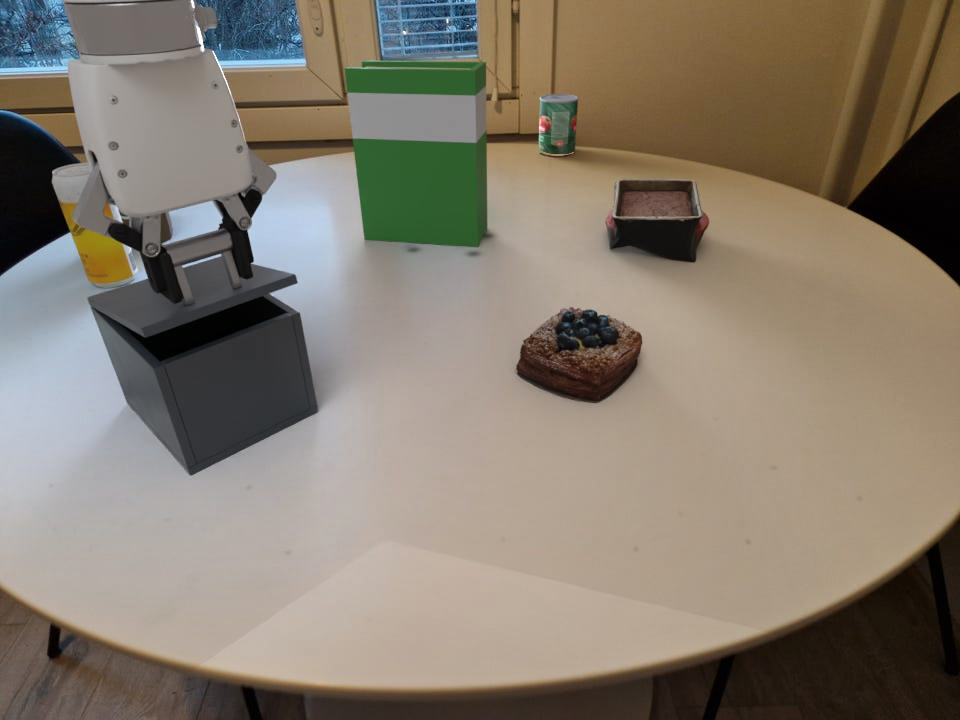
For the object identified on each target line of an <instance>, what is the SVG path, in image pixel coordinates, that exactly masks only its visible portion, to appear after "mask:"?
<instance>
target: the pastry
mask: <svg viewBox="0 0 960 720" xmlns="http://www.w3.org/2000/svg"><path fill="white" fill-rule="evenodd" d="M522 342H523V344H521V347H520V351H519V359H518V362H517V364H516V367H515V371H516V374H517V376H518V377H520V378H521V379H523V380H525V381H526V382H528V383H530V384H532V385H534V386H536V387H537V388H540V389H542V390H545V391H547V392H549V393H552V394H554V395H557V396H560V397H563V398H566V399H570V400H575V401H579V402H588V403H595V404H596V403H599V402H601V401H603V400H605V399H607V398H608V397H610V396H611V395H612V394H613V393H615V391H617V390H618V389H619V388H620V387H621V386H622V385H623V384H624V383H625V382H626V381H627V380H628V379H629V378H630V377H631V375H632V374H633V373H634V371H635V370H636V368H637V366H638V358H639V357H640V354H641V351H642V346H643V336H642V334H641V332H639V331H637V330H635V329H634V328H632V327H631V325H627V324H626V323H625V321H624V320H623V321H622V320H619V319H617V318H616V317H611V316H610V314H607V315H606V314H599V315H598V312H597V311H596V310H594V309H591V308H590V309H581V308H580V307H577V308H575V307H573V306H569V307H568V308H563V307H562V308H560V310H559V312H557V313H556V314H555V315H551V317H549V319H547V320H546V321H545V322H543V323H542V324H541V325H540V326H538V327H537V328H536V329H535V330H534V331H533V332H532V333H530V335H529V336H528V337H526V338H525V339H523V340H522Z"/></svg>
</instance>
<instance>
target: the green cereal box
mask: <svg viewBox="0 0 960 720" xmlns="http://www.w3.org/2000/svg"><path fill="white" fill-rule="evenodd" d="M343 70H344V77H345V85H346V94H347V102H348V109H349V121H350V128H351V136H352V137H351V138H352V145H353V153H354V154H353V155H354V162H355V170H356V179H357V187H358V196H359V205H360V213H361V221H362V222H361V223H362V230H363V231H362V232H363V239H364V240H366V241H378V242H379V241H380V242H393V243H395V242H397V243H409V244H410V243H411V244H424V245H425V244H428V245H442V246H459V247H473V248H477V247H479V246H480V244H481V242H482V240H483V239H484V236H485V234H486V233H487V230H488V159H487V158H488V146H487V145H488V137H487V136H488V135H487V134H488V133H487V131H488V129H487V128H488V127H487V61H451V60H449V61H445V60H444V61H441V60H440V61H439V60H437V61H436V60H375V59H374V60H373V59H372V60H371V59H369V60H368V59H363V60H361V67H356V66H355V67H354V66H353V67H349V66H348V67H344V69H343Z"/></svg>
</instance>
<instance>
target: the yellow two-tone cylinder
mask: <svg viewBox="0 0 960 720" xmlns="http://www.w3.org/2000/svg"><path fill="white" fill-rule="evenodd" d="M51 173H52V177H51V178H52V179H51V185H52V187H53V191H54V192H55V195H56V197H57V200H58V203H59V205H60V208H61V211H62V215H63V217H64V219H65V221H66V224H67V227H68V230H69V232H70V234H71V235H70V236H71V237H72V240H73V243H74V245H75V248H76V251H77V254H78V256H79V260H80V261H81V264H82V267H83V269H84V272H85V275H86V277H87V280H88V281H89V282H90V283H91V284H94V286H96V287H98V288H103V289H110V288H118V287H122V286H125V285H128V284H130V283H131V282H133V281H134V280H135V278H136V276H137V274H138V271H139V268H138V265H137V261H136V259H135V256H134V253H133V249H132V248H130V247H128V246H126V245H124V244H122V243H120V242H118V241H116V240H115V239H112V238H110V237H107V236H104V235H101V234H98V233H96V232H93V231H91V230H88V229H85V228H83V227H81V226H80V225H78V224H77V223H76V222H75V221H74V220H73V218H72V214H73V212H74V210H75V207H76V205H77V203H78V201H79V198H80V196H81V194H82V192H83V190H84V187H85V185H86V183H87V181H88V179H89V176H90V174H91V173H90V169H89V166H88V162H80V163H71V164H67V165H63V166H60V167H56V168H55V169H53V170H52V171H51ZM103 212H104V215H105V216H107V217H109V218H112V219H115V220H118V221H120V222H122V219H121V216H120V213H119V210H118V208H117V206H116V205H111V204H106V206H105V208H104V211H103ZM122 223H123V222H122Z"/></svg>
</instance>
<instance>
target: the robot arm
mask: <svg viewBox="0 0 960 720" xmlns="http://www.w3.org/2000/svg"><path fill="white" fill-rule="evenodd" d="M61 2H62V3H63V9H64V11H65V14H66V17H67V21H68V24H69V27H70V31H71V33H72V36H73V39H74V42H75V46H76V48H77V52H78V55H79V58H77V59H76V58H75V59H71V60H68V61H67V62H66V63H67V74H68V82H69V83H68V84H69V88H70V94H71V100H72V105H73V109H74V114H75V118H76V119H75V120H76V123H77V128H78V132H79V135H80V139H81V143H82V147H83V151H84V154H85V159H86V163H88V166H89V169H90V173H91V174H90V176H89V179H88V181H87V183H86V185H85V187H84V190H83V192H82V194H81V196H80V198H79V201H78V203H77V205H76V207H75V210H74V212H73V214H72V218H73V220H74V221H75V222H76V223H77V224H78V225H80V226H81V227H83V228H85V229H88V230H91V231H93V232H96V233H98V234H101V235H104V236H107V237H110V238H112V239H115V240H116V241H118V242H120V243H122V244H124V245H126V246H128V247H130V248H131V249H132V250H135V251H137V252H138V253H139V255H140V258H141V261H142V264H143V268H144V270H145V273H146V276H147V279H148V280H149V283H150V285H151V287H152V289H153V290H154V292H156V293H157V294H158V293H161V294H162V295H164V296H165V297H166V298H167V299H169V300H170V301H171V302H172V303H174V304H176V303H179V302H182V299H183V295H182V292H181V288H180V285H179V282H178V278H177V275H176V271H175V268H174V265H173V261H172V258H171V256H170V254H169V253H167V252H166V251H164V250H163V248H162V243H161V213H165V212H169V213H170V212H172V211H176V210H180V209H181V210H182V209H185V208H189V207H192V206H198V205H200V204H204V203H205V204H206V203H208V202H212V203H213V205H214V206H215V208H216V209H217V212H218V213H219V215H220V216H221V218H222V219H221V223H218V227H217V230H219V229H223V228H225V229H227V230H228V231H229V233H230V235H231V237H232V239H233V243H234V249H233V250H231V251H232V254H233V257H234V260H235V264H236V267H237V270H238V273H239V276H240V277H241V278H243V279H246V280H247V279H250V278H253V273H252V268H251V264H254V262H255V257H254V254H253V250H252V245H251V240H250V236H249V231H248V230H249V229H250V228H251V227H252V224H253V220H252V219H253V216H254V215H255V214H256V211H257V210H258V208H259V206H260V204H261V203H262V201H263V196H264V195H266V194H267V192H268V191H269V189H270V188H271V186H272V185H273V183H274V182H275V181H276V179H277V171H276V170H275V169H273V168H272V167H271V166H270V165H269V164H268V163H266V162H265V160H263V158H261V157H260V156H258V155H257V154H256V153H255V152H254V151H253V150H252V149H251V148H249V147H248V144H247V142H246V137H245V134H244V130H243V127H242V124H241V120H240V115H239V113H238V110H237V107H236V104H235V101H234V98H233V95H232V93H231V89H230V87H229V85H228V84H229V83H228V81H227V79H226V77H225V75H224V74H225V73H224V72H223V70H222V68H221V65H220V62H219V60H218V58H217V56H216V54H215V52H214V50H213V49H211V48H206V47H204V43H203V42H206V38H205V34H204V33H205V32H207V31H208V30H209V29H217V28H218V24H219V23H218V17H217V14H216V11H215V9H214V8H213V7H211V6H205V7H204V6H202V5H199V4H198V2H197V0H61ZM106 204H111V205H116V206H117V208H118V210H119V211H120V212H121V213H122V214H124V215H126V216H129V226H127V225H125V224H123V223H122V222H120V221H118V220H115V219H112V218H109V217H107V216H105V215H104V212H103V211H104V208H105V206H106ZM250 263H251V264H250Z"/></svg>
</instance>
